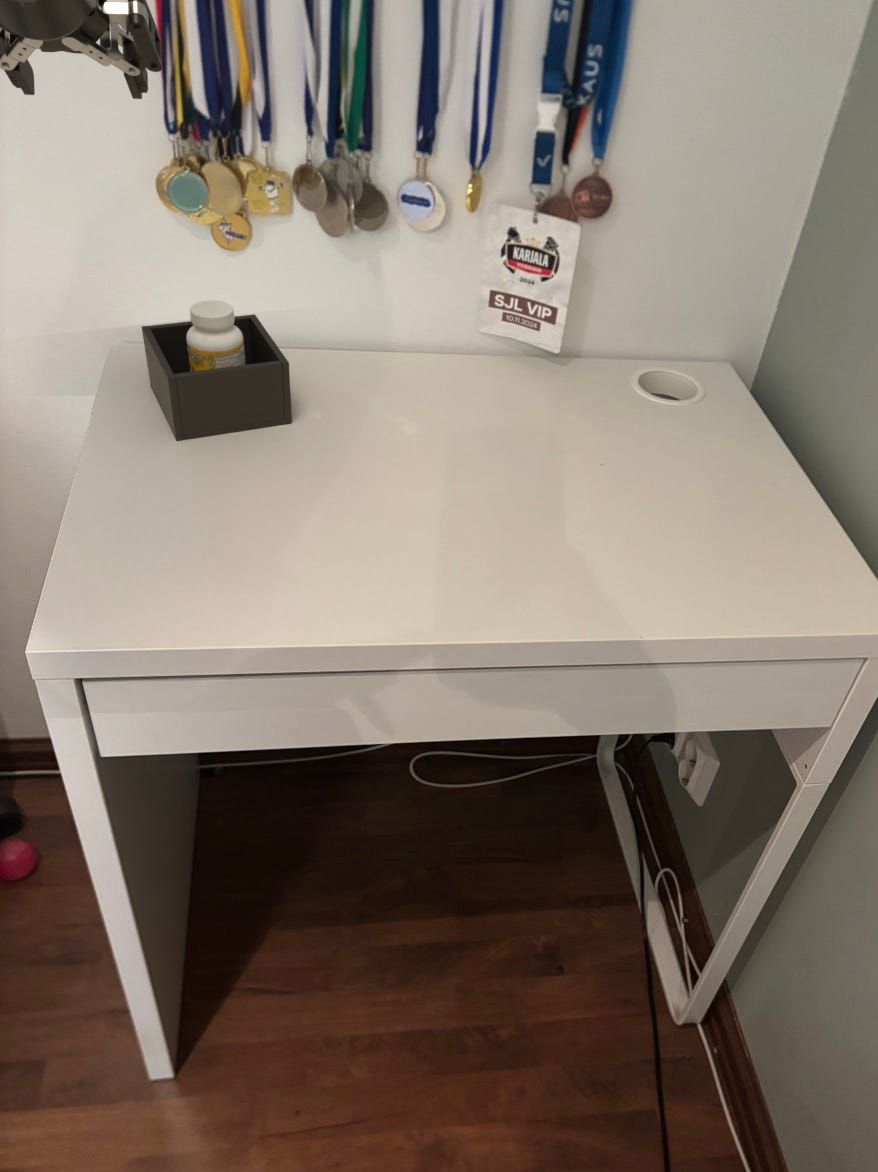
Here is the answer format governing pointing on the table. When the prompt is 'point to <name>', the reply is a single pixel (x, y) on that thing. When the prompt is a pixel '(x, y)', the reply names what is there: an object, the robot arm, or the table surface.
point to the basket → (218, 383)
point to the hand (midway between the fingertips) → (83, 86)
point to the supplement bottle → (214, 337)
